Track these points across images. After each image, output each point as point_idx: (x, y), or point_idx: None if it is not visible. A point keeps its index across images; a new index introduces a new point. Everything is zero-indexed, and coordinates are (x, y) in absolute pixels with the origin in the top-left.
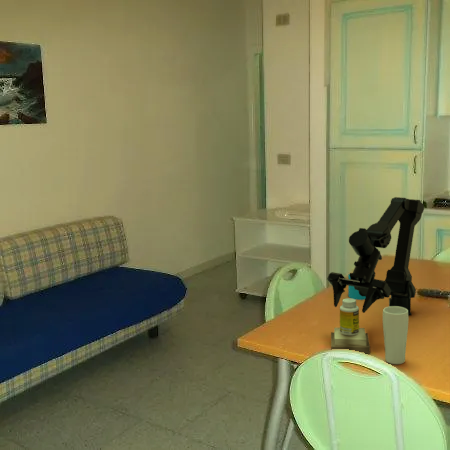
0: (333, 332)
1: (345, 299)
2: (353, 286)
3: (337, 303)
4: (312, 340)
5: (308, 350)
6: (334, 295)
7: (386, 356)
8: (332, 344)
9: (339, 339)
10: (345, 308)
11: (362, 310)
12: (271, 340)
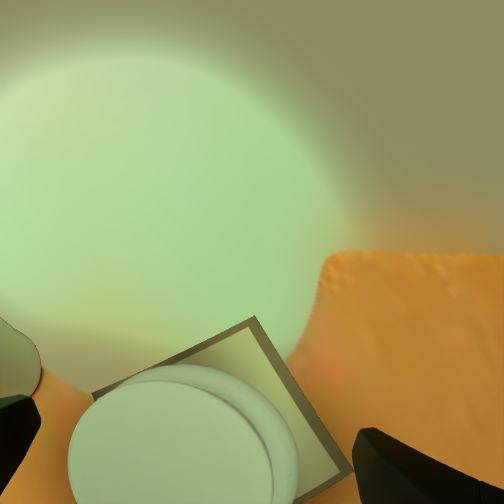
0: (343, 477)
1: (233, 490)
2: None
3: (362, 482)
4: (400, 395)
5: (349, 297)
6: (447, 474)
7: (24, 337)
8: (263, 340)
9: (224, 339)
10: (187, 381)
11: (23, 396)
12: (491, 294)
